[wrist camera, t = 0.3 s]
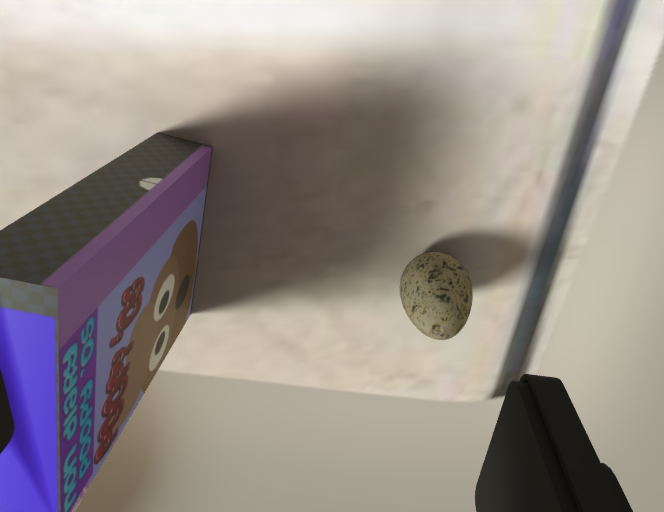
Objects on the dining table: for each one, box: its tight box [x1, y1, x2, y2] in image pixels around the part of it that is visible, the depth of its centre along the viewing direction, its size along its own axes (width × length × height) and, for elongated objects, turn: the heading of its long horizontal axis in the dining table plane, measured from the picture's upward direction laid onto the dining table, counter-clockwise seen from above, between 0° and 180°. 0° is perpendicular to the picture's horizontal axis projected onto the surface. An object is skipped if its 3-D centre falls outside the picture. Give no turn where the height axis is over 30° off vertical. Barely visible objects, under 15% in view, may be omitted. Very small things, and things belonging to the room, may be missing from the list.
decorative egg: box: [400, 252, 473, 340], centre depth 43 cm, size 6×6×10 cm
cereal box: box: [0, 133, 213, 512], centre depth 37 cm, size 17×5×24 cm, turn 167°
